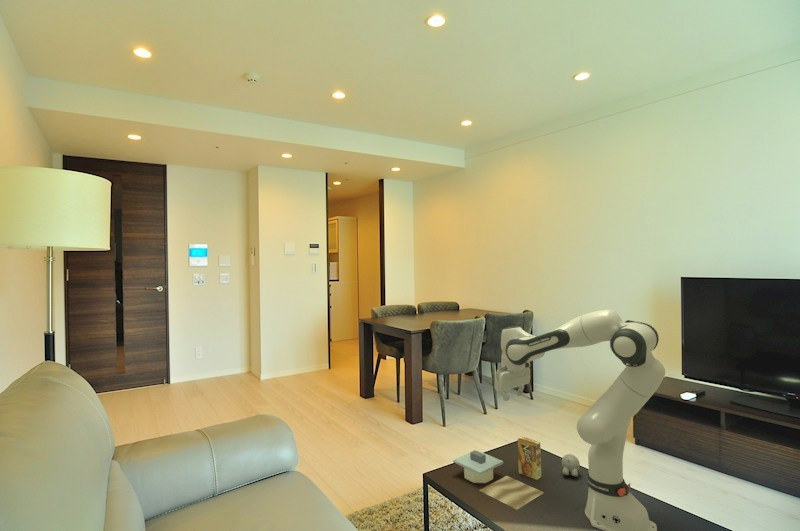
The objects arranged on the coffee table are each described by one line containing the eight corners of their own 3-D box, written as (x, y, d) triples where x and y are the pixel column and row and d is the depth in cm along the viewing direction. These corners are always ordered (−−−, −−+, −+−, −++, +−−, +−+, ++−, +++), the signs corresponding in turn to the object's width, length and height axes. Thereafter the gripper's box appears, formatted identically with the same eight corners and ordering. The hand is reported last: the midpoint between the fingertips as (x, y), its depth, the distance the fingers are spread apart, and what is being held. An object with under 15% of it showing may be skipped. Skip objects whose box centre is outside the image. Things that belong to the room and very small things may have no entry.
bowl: (498, 477, 180) (498, 463, 180) (480, 487, 173) (479, 472, 173) (476, 467, 190) (476, 454, 190) (458, 476, 182) (458, 462, 182)
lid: (503, 463, 180) (503, 454, 180) (480, 474, 171) (479, 465, 171) (476, 452, 192) (476, 443, 192) (453, 462, 182) (453, 452, 182)
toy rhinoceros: (580, 477, 184) (581, 456, 187) (578, 478, 174) (579, 456, 177) (563, 473, 188) (564, 452, 190) (560, 474, 178) (561, 452, 181)
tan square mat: (544, 493, 167) (544, 492, 167) (516, 511, 155) (516, 509, 155) (506, 476, 181) (506, 475, 181) (479, 491, 169) (479, 490, 169)
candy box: (541, 477, 179) (540, 441, 179) (536, 481, 176) (535, 444, 176) (523, 470, 186) (522, 435, 186) (517, 474, 183) (517, 438, 183)
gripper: (502, 370, 167) (503, 405, 167) (532, 362, 180) (533, 394, 180) (490, 367, 172) (491, 401, 172) (520, 360, 185) (520, 391, 185)
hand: (513, 398), depth 176 cm, fingers open, 8 cm apart
